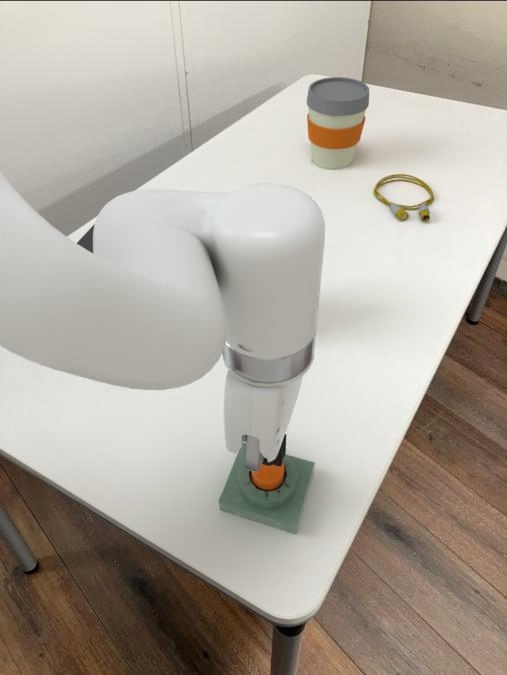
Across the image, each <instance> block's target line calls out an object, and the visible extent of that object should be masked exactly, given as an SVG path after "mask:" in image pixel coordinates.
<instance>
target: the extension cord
mask: <svg viewBox="0 0 507 675" xmlns="http://www.w3.org/2000/svg"><path fill="white" fill-rule="evenodd" d="M393 182H408V183H411V184H415V185H418V186H420V187H422V188H423V189H425V190H426V191H427V192H428V193H429V195H430V197H429V198H428V199H426V200H424V201H422V202H420V203H418V204H415V205H406V204H399V203H395V202H391V201H389V200H388V199H386V198H385V197H384V196H383V195H382V194H381V193H380V192H379V191H378V189H379V188H380V187H381V186H383V185H385V184H389V183H393ZM373 194H374V196H375V198H377V199H378V200H379V201H380V202H382V203H383V204H385V205H387V206H389V209H390V210H391V212H392V213H393V215H394V216H396V217H397V218H398V219H399V220H400V221H401V222H404V221H406V220H408V219H409V217H410V215H409V212H408V211H415V210H418V215H419V217H420V218H421V221H422V222H425V223H427V222H429V221H430V220H431V216H430V208H429V207H428V206H429V205H431V204H432V203H433V202H434V200H435V195H434V191H433V189H432V188H431V186H429V184H428V183H426V182H425V181H423V180H422V179H421V178H419V177H416V176H414V175H411V174H406V173H395V174H389V175H387V176H385V177H382V178H381V179H380V180H379V181H378V182H376V184H375V186H374V188H373Z"/></svg>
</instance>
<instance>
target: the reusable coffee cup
mask: <svg viewBox="0 0 507 675" xmlns="http://www.w3.org/2000/svg"><path fill="white" fill-rule="evenodd" d="M307 90H308V91H307V96H306V106H307V107H308V113H307V115H306V121H307V137H308V140H309V142H310V152H311V154H310V155H311V162H312V163H313V164H314V165H315V166H317V167H319V168H322V169H326V170H341V169H345V168H347V167H349V166H350V165H351V164H352V163H353V160H354V156H355V152H356V148H357V144H358V143H359V142H360V140H361V138H362V134H363V130H364V126H365V123H366V116H365V114H366V111H367V109H368V107H369V104H370V87H369V86H368V84H366V83H365V82H363V81H362V80H358V79H355V78H351V77H341V76H331V77H324V78H320V79H317V80H315V81H313V82H311V83H310V84H309V86H308V89H307Z"/></svg>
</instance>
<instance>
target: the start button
mask: <svg viewBox="0 0 507 675" xmlns="http://www.w3.org/2000/svg"><path fill="white" fill-rule="evenodd" d="M283 479H284V464H283V463H282V466H276V465H271V466H267V465H263V464H261V467H260V469H259V471H258V473H257V472H254V471H252V480H253V482H254V484H255V485H256V486H257V487H259V488H260V489H263V490H273V489H276V488H277V487H279V486H280V485H281V483H282V482H283Z"/></svg>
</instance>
